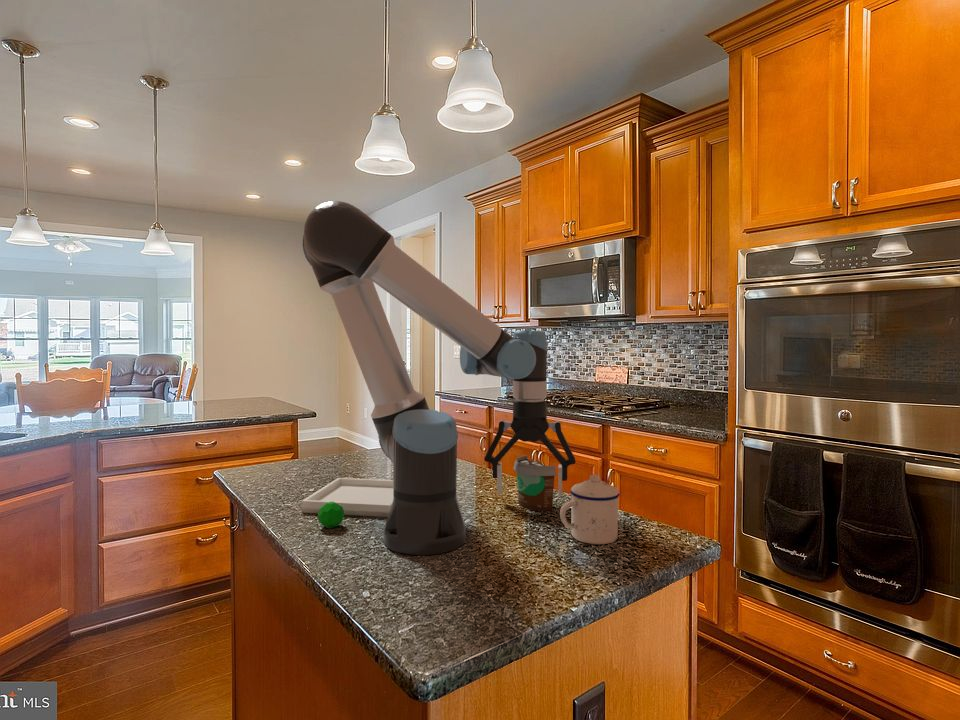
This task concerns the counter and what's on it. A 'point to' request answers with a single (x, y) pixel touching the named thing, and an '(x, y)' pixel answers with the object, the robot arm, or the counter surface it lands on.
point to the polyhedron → (331, 514)
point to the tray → (354, 497)
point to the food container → (534, 484)
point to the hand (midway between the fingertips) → (529, 493)
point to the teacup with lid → (593, 511)
